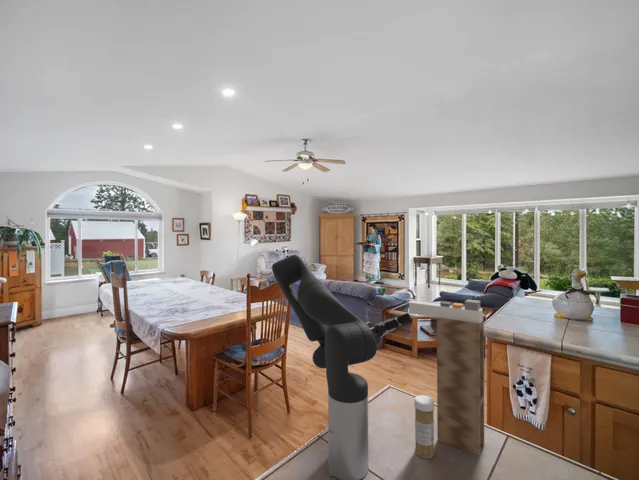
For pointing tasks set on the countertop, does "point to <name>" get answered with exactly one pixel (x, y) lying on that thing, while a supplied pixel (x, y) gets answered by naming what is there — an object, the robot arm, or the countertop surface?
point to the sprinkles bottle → (424, 426)
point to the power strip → (449, 310)
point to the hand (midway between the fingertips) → (404, 318)
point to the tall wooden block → (460, 384)
